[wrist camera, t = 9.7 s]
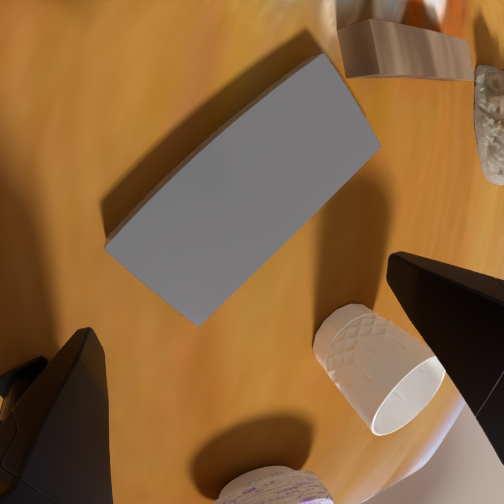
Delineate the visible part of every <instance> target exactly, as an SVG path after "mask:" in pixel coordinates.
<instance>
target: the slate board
mask: <svg viewBox="0 0 504 504" xmlns="http://www.w3.org/2000/svg"><path fill="white" fill-rule="evenodd" d="M380 148H381V145H380V143H379V141H378V139H377V137H376V136H375V134H374V132H373V130H372V128H371V127H370V125H369V123H368V121H367V119H366V118H365V116H364V114H363V113H362V111H361V109H360V107H359V106H358V104H357V102H356V101H355V99H354V98H353V96H352V94H351V93H350V91H349V89H348V88H347V86H346V85H345V83H344V82H343V80H342V78H341V77H340V75H339V74H338V72H337V71H336V69H335V68H334V66H333V65H332V63H331V62H330V60H329V59H328V57H327V56H326V55H325V53H321V54H318V55H315V56H312V57H309V58H307V59H306V60H304V61H303V62H302V63H300V64H299V65H297V66H296V67H295V68H293V69H292V70H291V71H289V72H288V73H286V74H285V75H284V76H282V77H281V78H280V79H278V80H277V81H276V82H275V83H273V84H272V85H271V86H269V87H268V88H267V89H265V90H264V91H263V92H262V93H260V94H259V95H258V96H257V97H255V98H254V99H253V100H252V101H250V102H249V103H248V104H247V105H245V106H244V107H243V108H242V109H241V110H239V111H238V112H237V113H236V114H235V115H233V116H232V117H231V118H230V119H229V120H227V121H226V122H225V123H224V124H223V125H222V126H220V127H219V128H218V129H217V130H216V131H215V132H213V133H212V134H211V135H210V136H209V137H208V138H207V139H205V140H204V141H203V142H202V143H201V144H200V145H199V146H198V147H197V148H195V149H194V150H193V151H192V152H191V153H190V154H189V155H188V156H187V157H186V158H185V159H183V160H182V161H181V162H180V163H179V164H178V165H177V166H176V167H175V168H174V169H173V170H172V171H171V172H170V173H169V174H168V175H167V176H166V177H164V178H163V179H162V180H161V181H160V182H159V183H158V184H157V185H156V186H155V187H154V188H153V189H152V190H151V191H150V192H149V193H148V194H147V195H146V196H145V197H144V198H143V199H142V200H141V201H140V202H139V203H138V204H137V205H136V207H135V208H134V209H133V210H132V211H131V212H130V213H129V214H128V215H127V216H126V217H125V218H124V219H123V220H122V221H121V222H120V223H119V224H118V225H117V227H116V228H115V229H114V230H113V231H112V232H111V233H110V234H109V235H108V236H107V237H106V239H105V245H104V250H106V251H107V252H108V253H109V254H110V255H111V256H112V257H113V258H115V259H116V260H117V261H118V262H119V263H120V264H121V265H123V266H124V267H125V268H126V269H127V270H128V271H130V272H131V273H132V274H133V275H134V276H135V277H137V278H138V279H139V280H140V281H141V282H143V283H144V284H145V285H146V286H147V287H149V288H150V289H151V290H152V291H153V292H155V293H156V294H157V295H158V296H160V297H161V298H162V299H163V300H164V301H166V302H167V303H168V304H169V305H171V306H172V307H173V308H174V309H176V310H177V311H178V312H179V313H181V314H182V315H183V316H185V317H186V318H187V319H188V320H190V321H191V322H192V323H194V324H195V325H196V326H198V327H199V326H200V325H201V324H202V323H203V322H204V321H205V320H206V319H207V318H208V317H209V316H210V315H211V314H212V313H213V312H214V311H215V310H216V309H217V308H218V307H219V306H220V305H222V304H223V303H224V302H225V301H226V300H227V299H228V298H229V297H230V296H231V295H232V294H233V293H234V292H235V291H236V290H237V289H238V288H239V287H240V286H241V285H242V284H243V283H244V282H245V281H246V280H247V279H248V278H250V277H251V276H252V275H253V274H254V273H255V272H256V271H257V270H258V269H259V268H260V267H261V266H262V265H263V264H264V263H265V262H266V261H267V260H268V259H269V258H270V257H271V256H272V255H273V254H274V253H275V252H276V251H277V250H278V249H279V248H280V247H281V246H282V245H283V244H284V243H285V242H286V241H287V240H288V239H289V238H290V237H291V236H293V235H294V234H295V233H296V232H297V231H298V230H299V229H300V228H301V227H302V226H303V225H304V224H305V223H306V222H307V221H308V220H309V219H310V218H311V217H312V216H313V215H314V214H315V213H316V212H317V211H318V210H319V209H320V208H321V207H322V206H323V205H324V204H325V203H326V202H327V201H328V200H329V199H330V198H331V197H332V196H333V195H334V194H335V193H336V192H337V191H338V190H339V189H340V188H341V187H342V186H343V185H344V184H345V183H346V182H347V181H348V180H349V179H350V178H351V177H352V176H353V175H354V174H355V173H356V172H357V171H358V170H359V169H360V168H361V167H362V166H363V165H364V164H365V163H366V162H367V161H368V160H369V159H370V158H371V157H372V156H373V155H374V154H375V153H376V152H377V151H378V150H379V149H380Z"/></svg>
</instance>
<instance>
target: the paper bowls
mask: <svg viewBox="0 0 504 504" xmlns="http://www.w3.org/2000/svg"><path fill="white" fill-rule="evenodd" d="M213 504H334V501H333V498H332V496H331V495H330V493H329V492H328V490H327V489H326V487H325V486H324V484H323V483H322V482H321V480H320V479H319V477H318V476H317V475H316V474H315V473H313V472H311V471H304V470H295V471H294V470H293V469H291V468H289V467H285V466H268V467H263V468H259V469H255V470H252V471H249V472H247V473H245V474H242V475H240V476H239V477H237V478H235V479H234V480H232V481H231V482H229V483H228V484H227V485H226V486H225V487H224V488H223V489H222V491H221V493H220V495H219V499H217V500H216V501H215V502H214V503H213Z"/></svg>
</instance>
